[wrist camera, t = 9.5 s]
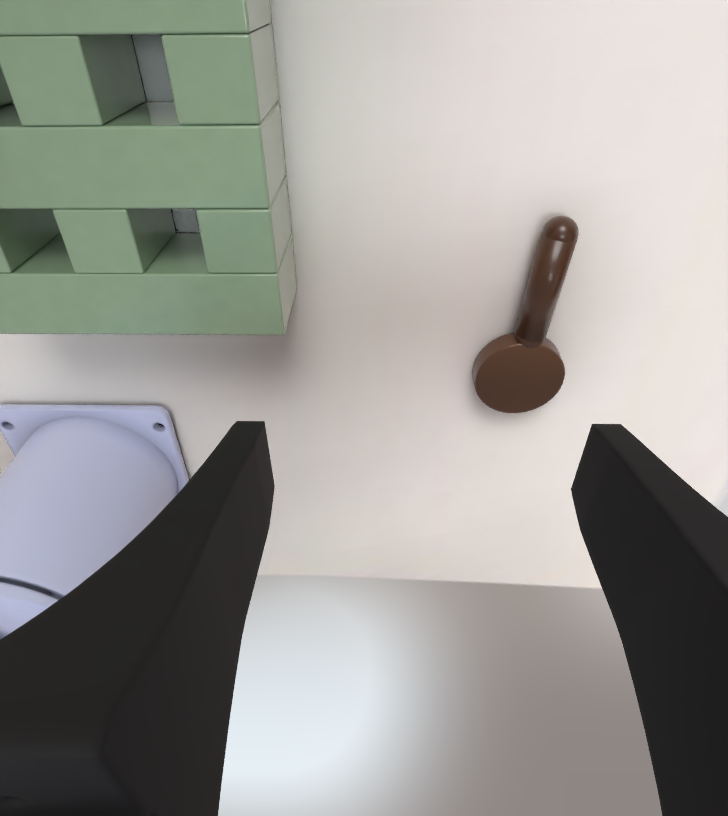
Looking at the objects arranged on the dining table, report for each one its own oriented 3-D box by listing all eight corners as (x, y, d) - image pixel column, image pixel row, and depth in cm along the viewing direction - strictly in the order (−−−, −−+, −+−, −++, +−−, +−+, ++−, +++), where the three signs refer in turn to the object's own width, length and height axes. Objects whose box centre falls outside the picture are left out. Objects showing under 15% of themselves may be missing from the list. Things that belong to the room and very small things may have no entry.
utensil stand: (297, 288, 21) (284, 335, 18) (26, 287, 21) (-26, 334, 19) (239, -336, 12) (196, -426, 9) (-233, -322, 12) (-411, -407, 10)
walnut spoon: (514, 220, 18) (468, 413, 23) (623, 228, 18) (552, 418, 24) (508, 207, 19) (464, 395, 24) (612, 214, 19) (545, 400, 24)
